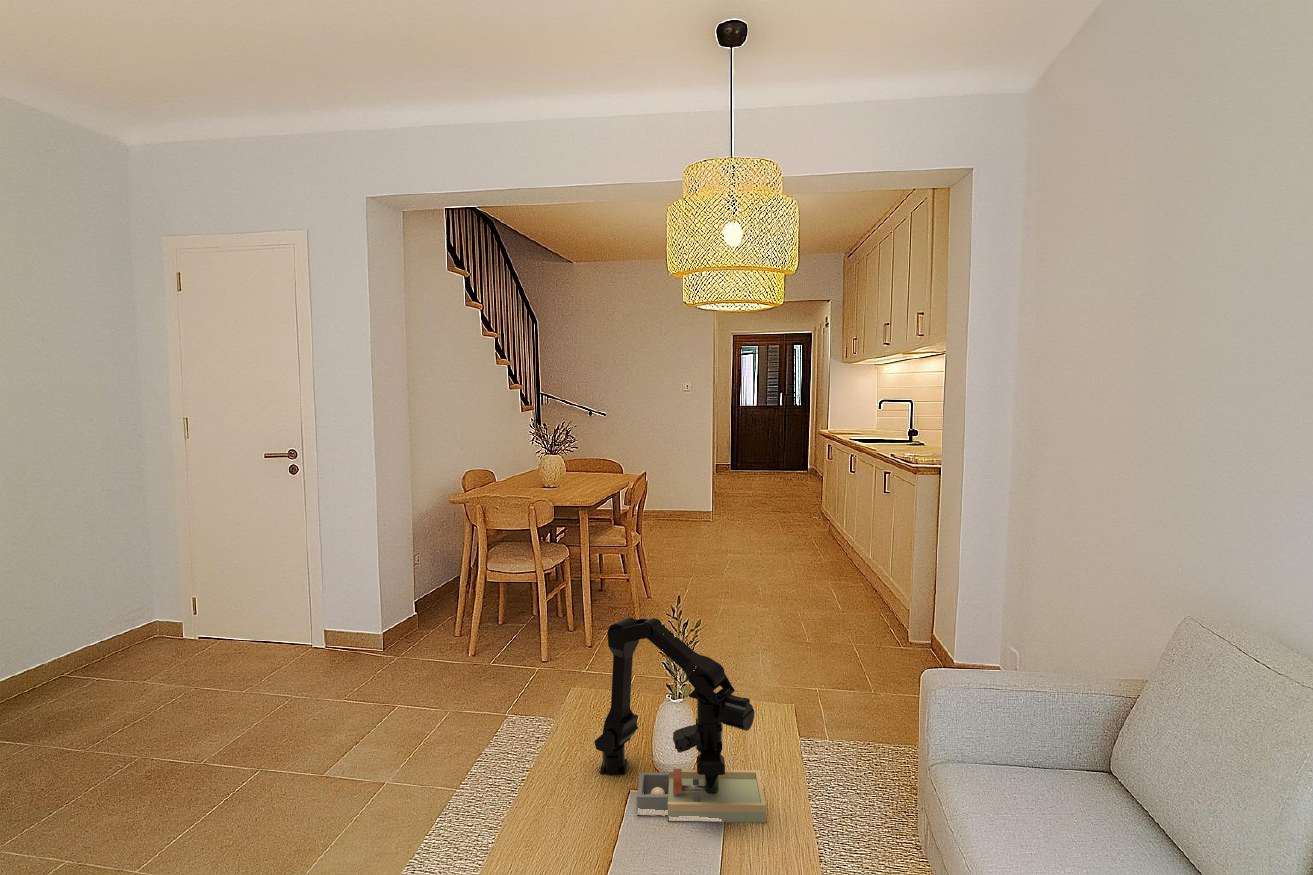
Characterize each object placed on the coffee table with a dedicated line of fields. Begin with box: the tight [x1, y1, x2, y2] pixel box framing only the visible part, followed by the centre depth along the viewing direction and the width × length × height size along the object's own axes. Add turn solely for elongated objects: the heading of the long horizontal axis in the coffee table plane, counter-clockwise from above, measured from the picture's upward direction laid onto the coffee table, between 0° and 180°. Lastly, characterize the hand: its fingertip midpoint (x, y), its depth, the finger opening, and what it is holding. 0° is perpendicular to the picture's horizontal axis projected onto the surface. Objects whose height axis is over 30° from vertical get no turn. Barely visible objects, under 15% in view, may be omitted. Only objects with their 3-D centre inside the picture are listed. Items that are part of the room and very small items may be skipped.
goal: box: [636, 771, 669, 811], centre depth 161 cm, size 10×7×4 cm
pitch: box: [667, 769, 767, 824], centre depth 161 cm, size 14×22×4 cm, turn 88°
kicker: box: [672, 768, 719, 794], centre depth 161 cm, size 4×11×7 cm, turn 88°
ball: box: [649, 787, 666, 795], centre depth 161 cm, size 4×4×4 cm
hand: (709, 782), depth 161 cm, fingers closed on kicker, 3 cm apart
